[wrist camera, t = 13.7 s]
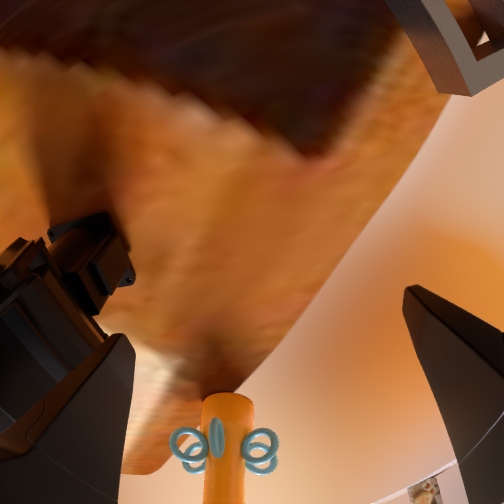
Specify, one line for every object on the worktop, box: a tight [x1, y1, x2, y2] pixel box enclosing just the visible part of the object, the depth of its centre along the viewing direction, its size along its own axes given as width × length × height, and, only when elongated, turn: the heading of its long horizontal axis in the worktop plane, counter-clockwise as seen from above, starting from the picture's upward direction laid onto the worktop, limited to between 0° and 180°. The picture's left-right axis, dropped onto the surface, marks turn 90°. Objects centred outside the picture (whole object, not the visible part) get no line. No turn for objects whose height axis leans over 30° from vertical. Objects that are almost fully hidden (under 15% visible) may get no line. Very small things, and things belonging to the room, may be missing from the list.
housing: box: [384, 0, 504, 97], centre depth 11 cm, size 10×10×4 cm
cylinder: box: [169, 392, 279, 504], centre depth 26 cm, size 12×10×15 cm
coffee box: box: [408, 478, 443, 504], centre depth 59 cm, size 9×6×16 cm
